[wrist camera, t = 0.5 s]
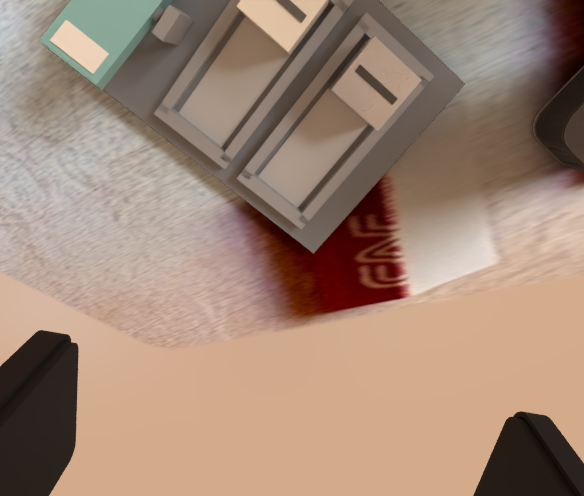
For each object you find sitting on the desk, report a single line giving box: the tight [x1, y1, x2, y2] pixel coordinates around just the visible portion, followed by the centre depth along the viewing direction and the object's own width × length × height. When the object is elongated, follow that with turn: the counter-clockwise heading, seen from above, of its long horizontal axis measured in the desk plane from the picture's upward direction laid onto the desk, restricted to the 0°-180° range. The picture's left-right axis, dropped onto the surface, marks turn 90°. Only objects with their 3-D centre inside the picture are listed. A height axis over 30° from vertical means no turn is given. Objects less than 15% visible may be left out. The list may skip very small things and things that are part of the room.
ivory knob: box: [237, 0, 329, 55], centre depth 29 cm, size 4×4×5 cm
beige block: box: [328, 36, 421, 131], centre depth 31 cm, size 4×4×5 cm
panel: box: [103, 0, 465, 253], centre depth 32 cm, size 17×25×6 cm
